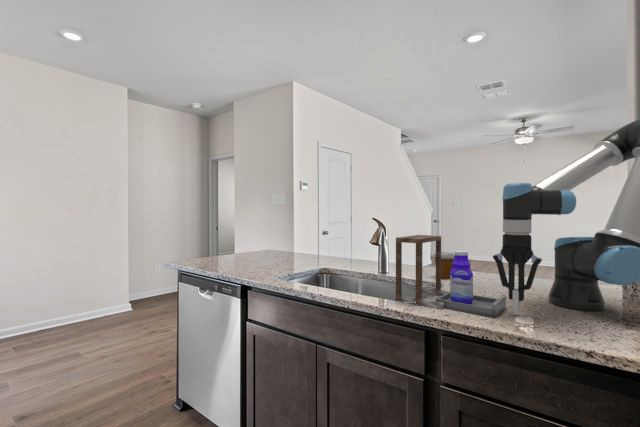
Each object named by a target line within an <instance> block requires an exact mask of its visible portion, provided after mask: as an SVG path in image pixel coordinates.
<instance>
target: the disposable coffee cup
mask: <svg viewBox="0 0 640 427" xmlns="http://www.w3.org/2000/svg"><path fill="white" fill-rule="evenodd" d="M454 256H455V252H454V253H453V252H446V251H445V252H444V251H441V280H443V279H449V280H450V272H451V269H452V267H453V265H452V263H453V261H454ZM433 257H434V262H435V265H436V251H435V252H434V255H433Z"/></svg>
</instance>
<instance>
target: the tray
mask: <svg viewBox="0 0 640 427" xmlns="http://www.w3.org/2000/svg"><path fill="white" fill-rule="evenodd" d="M435 301H437V302H442V303H444V309H447V310H453V311H455V312H456V311H457V312H461V313H462V312H463V313H466V314H467V313H468V314H473V315H477V316H482V317H487V318H491V319H496V318H497V317H498V316H499V315H500V314H502V312H503V311H504V310H506V309H507V295H501V296H500V297H498V298H494V297H489V296H488V297H487V296H484V295H483V296H482V295H476V294H473V301H472V303H471V304H464V303H459V302H453V301H452V300H451V298H450V292H448V293H447V294H445V295H443V296H439V297H437V298H435Z"/></svg>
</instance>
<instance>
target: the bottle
mask: <svg viewBox="0 0 640 427" xmlns="http://www.w3.org/2000/svg"><path fill="white" fill-rule="evenodd" d="M468 253H469V252H468V251H467V250H455V251H454V261H453V263H452V265H453V267H452V269H451V272H450V279H449V281H450V282H449V283H450V284H449V285H450V288H449V291H450V298H451V300H452V301H453V302H459V303H464V304H471V303H472V301H473V295H474V273H473V271H472V269H471V263H470V260H469V255H468Z"/></svg>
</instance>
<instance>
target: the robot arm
mask: <svg viewBox="0 0 640 427" xmlns="http://www.w3.org/2000/svg"><path fill="white" fill-rule="evenodd" d="M634 158H635V159H634ZM631 159H634V161H633V164H632V166H631V169H630V171H629V173H628V174H627V178H626V180H625V182H624V184H623V187H622V189H621V191H620V193H619V196H618V198H617V200H616V202H615V204H614V207H613V208H612V211H611V213H610V216H609V217H608V220H607V223H606V225H605V227H604V229H602V230H598V231H596V232H595V234H594V236H571V237H570V236H569V237H567V236H566V237H558V238H557V239H556V240H555V241H554V248H553V250H554V281H553V284H552V286H551V288H550V291H549V293H548V302H549V303H550V304H553V305H556V306H558V307H562V308H567V309H571V310H578V311H593V312H594V311H595V312H597V311H598V312H599V311H600V312H601V311H604V310H605V309H606V302H605V299H604V296H603V294H602V292H601V289H600V285H599V281H601V282H603V283H605V284H609V285H617V286H630V285H633V284H636V283H638V282H640V119H638V120H634V121H631V122H629V123H628V124H625V125H623V126H621V127H620V128H619V129H617V130H615V131H614V132H612V133H610V134H609V135H608V136H606V137H604V138H603V139H601V140H600V141H598V142H597V143H595V144H594V146H593V148H592V149H591V150H590V151H588V152H586V153H584V154H583V155H581V156H580V157H577V159H575V160H573V161H571V162H570V163H569V164H567V165H565V166H564V167H561V168H560V169H558V170H557V171H555V172H553V173H552V174H550V175H549V176H547V177H545V178H544V179H542V180H541V181H539V182H538V183H536V184H534V185H532V183H529V182H513V183H511V182H510V183H506V184H505V185H504V186H503V190H502V232H503V233H504V234H503V235H502V248H501V249H500V252H499V253H497V254H494V255H492V258H493V260H494V261H495V263H496V267H497V271H498V274H499V278H500V283H501V286H502V287H505V288H507V289H508V300H511V301H512V312H514V313H520V311H521V302H523V301H524V299H525V290H530V289H531V288H532V287H533V283H534V279H535V275H536V272H537V269H538V266H539V265H540V264H541V262H542V261H543V259H542V258H541V257H538V256H536V255H535V254H534V251H533V250H532V235H531V233H532V218H533V217H532V216H533V215H553V216H554V215H557V216H561V215H570V214H572V213H573V211H575V209H576V207H577V198H576V195H575V193H574V192H573V191H572V190H573V189H574V188H576V187H578V186H579V185H581V184H583V183H584V182H586V181H588V180H589V179H591V178H593V177H595V176H596V175H598V174H599V173H601V172H602V171H605V170H607V168H609V167H615V166H619V165H621V164H622V163H624V162H626V161H628V160H631ZM530 259H531V263H532V265H531V267H530V270H529V273H528V277H527V280H526V284H525V268H526V264H527V263H528V262H529V260H530ZM503 260H506V262H507V263H508V264H507V267H508V278H507V274H506V271H505V266H504V263H503ZM516 265H517V269H518V270H517V274H518V275H517V276H518V278H517V279H518V280H517V281H518V282H517V283H518V284H517V286H518V288H515V287H516V285H515V284H516V283H515V280H516V278H515V275H516V274H515V273H516V272H515V271H516Z"/></svg>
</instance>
